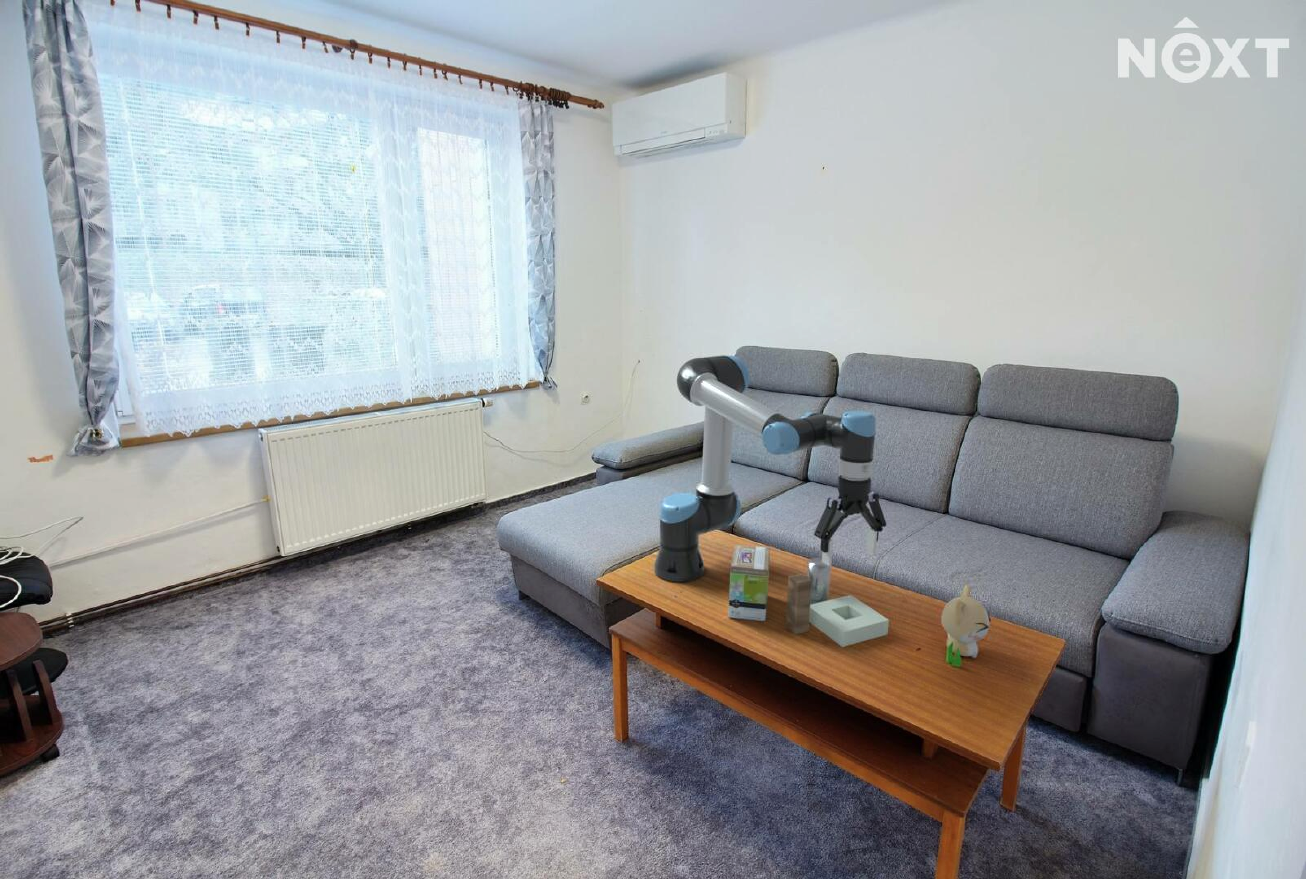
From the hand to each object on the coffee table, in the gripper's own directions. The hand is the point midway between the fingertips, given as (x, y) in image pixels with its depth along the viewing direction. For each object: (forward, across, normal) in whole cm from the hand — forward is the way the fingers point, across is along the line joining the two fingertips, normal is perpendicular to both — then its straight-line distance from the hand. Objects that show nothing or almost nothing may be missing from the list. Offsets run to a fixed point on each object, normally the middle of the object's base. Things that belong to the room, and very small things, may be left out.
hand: (848, 558), depth 152 cm
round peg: (+19, +2, +13) cm, 23 cm away
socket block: (+19, 0, 0) cm, 19 cm away
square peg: (+19, -11, +4) cm, 22 cm away
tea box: (+19, -16, +19) cm, 31 cm away
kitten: (+19, +17, -20) cm, 33 cm away
